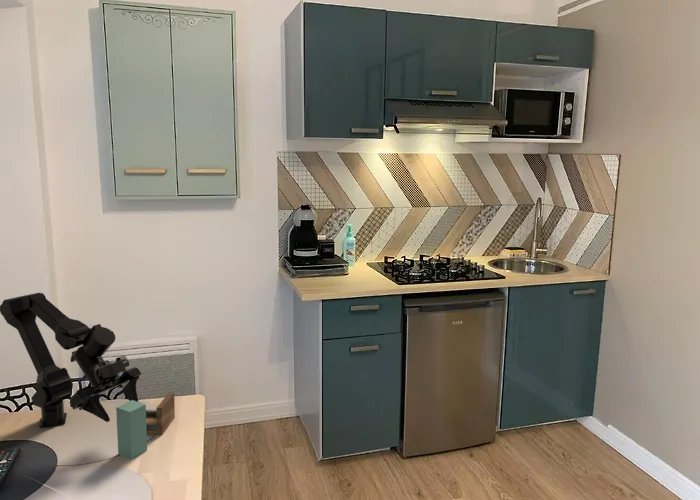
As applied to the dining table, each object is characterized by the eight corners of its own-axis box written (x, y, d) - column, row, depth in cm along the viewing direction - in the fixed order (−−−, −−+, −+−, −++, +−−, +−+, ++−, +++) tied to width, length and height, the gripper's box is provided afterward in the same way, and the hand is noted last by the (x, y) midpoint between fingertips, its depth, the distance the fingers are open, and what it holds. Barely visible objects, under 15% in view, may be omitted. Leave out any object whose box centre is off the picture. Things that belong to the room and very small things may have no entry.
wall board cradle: (130, 433, 152) (129, 406, 150) (144, 416, 161) (144, 391, 160) (162, 434, 151) (161, 408, 150) (174, 417, 161) (174, 392, 160)
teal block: (118, 453, 141) (116, 407, 139) (133, 445, 146) (132, 399, 143) (131, 459, 139) (129, 412, 137) (147, 450, 143) (145, 404, 141)
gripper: (74, 360, 133) (107, 413, 130) (135, 339, 150) (166, 385, 147) (55, 383, 138) (87, 434, 135) (117, 360, 155) (146, 405, 151)
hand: (123, 413), depth 142 cm, fingers open, 9 cm apart
